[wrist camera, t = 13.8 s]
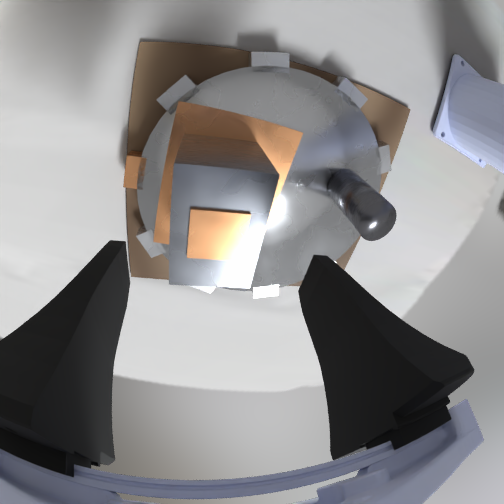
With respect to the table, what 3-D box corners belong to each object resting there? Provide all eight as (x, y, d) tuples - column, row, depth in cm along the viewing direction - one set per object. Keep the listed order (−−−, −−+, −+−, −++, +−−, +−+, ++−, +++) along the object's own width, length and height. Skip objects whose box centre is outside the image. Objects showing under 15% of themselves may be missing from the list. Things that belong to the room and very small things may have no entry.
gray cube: (257, 142, 14) (280, 176, 10) (238, 232, 17) (249, 289, 14) (183, 133, 13) (173, 164, 9) (175, 228, 17) (168, 286, 13)
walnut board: (408, 108, 15) (410, 109, 15) (334, 284, 25) (335, 286, 25) (141, 42, 11) (140, 41, 10) (131, 274, 20) (131, 276, 20)
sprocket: (314, 7, 10) (362, -13, 6) (403, 217, 20) (441, 257, 16) (77, 174, 14) (37, 219, 10) (233, 317, 24) (240, 369, 20)
